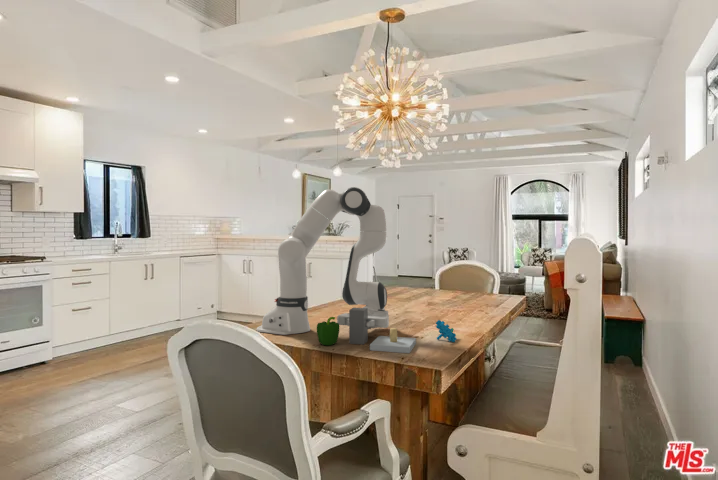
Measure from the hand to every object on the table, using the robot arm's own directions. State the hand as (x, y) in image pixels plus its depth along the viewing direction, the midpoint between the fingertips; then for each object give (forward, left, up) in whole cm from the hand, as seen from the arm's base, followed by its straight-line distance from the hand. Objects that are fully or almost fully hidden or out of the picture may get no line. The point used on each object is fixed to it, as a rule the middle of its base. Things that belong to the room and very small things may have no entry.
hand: (357, 324), depth 168 cm
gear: (+32, +13, -7) cm, 35 cm away
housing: (0, +1, -7) cm, 7 cm away
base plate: (+14, -2, -7) cm, 16 cm away
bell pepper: (-10, -5, -7) cm, 13 cm away
